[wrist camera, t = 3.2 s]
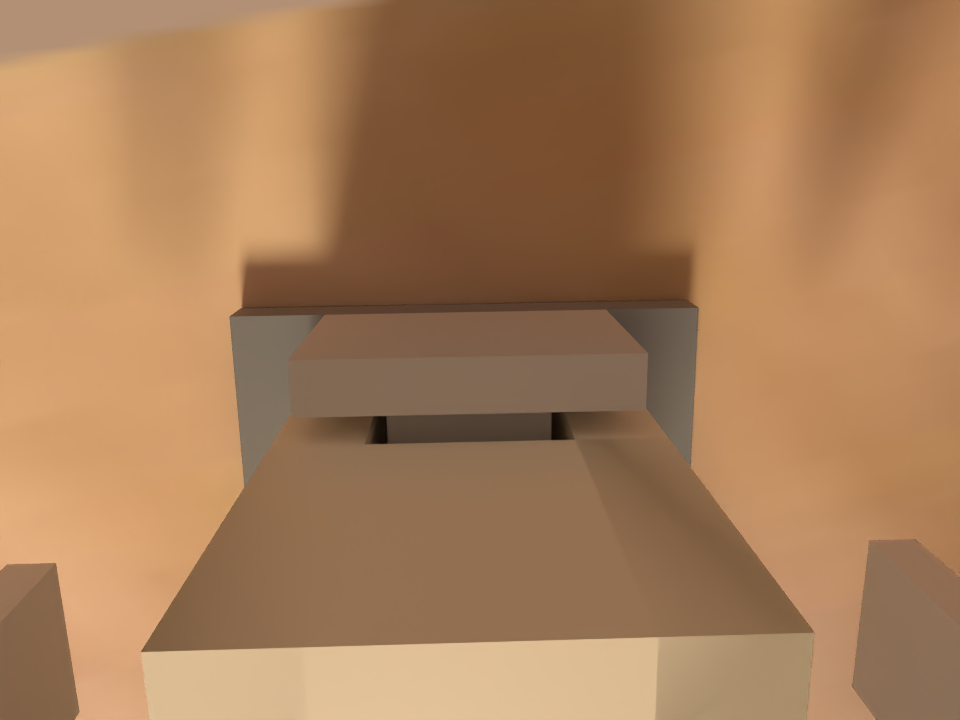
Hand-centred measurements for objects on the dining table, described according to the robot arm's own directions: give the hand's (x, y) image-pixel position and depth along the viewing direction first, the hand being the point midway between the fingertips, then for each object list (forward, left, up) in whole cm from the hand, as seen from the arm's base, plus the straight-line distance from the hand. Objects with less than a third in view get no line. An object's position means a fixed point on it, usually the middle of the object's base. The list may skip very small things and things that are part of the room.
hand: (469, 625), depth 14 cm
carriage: (0, 0, -5) cm, 5 cm away
